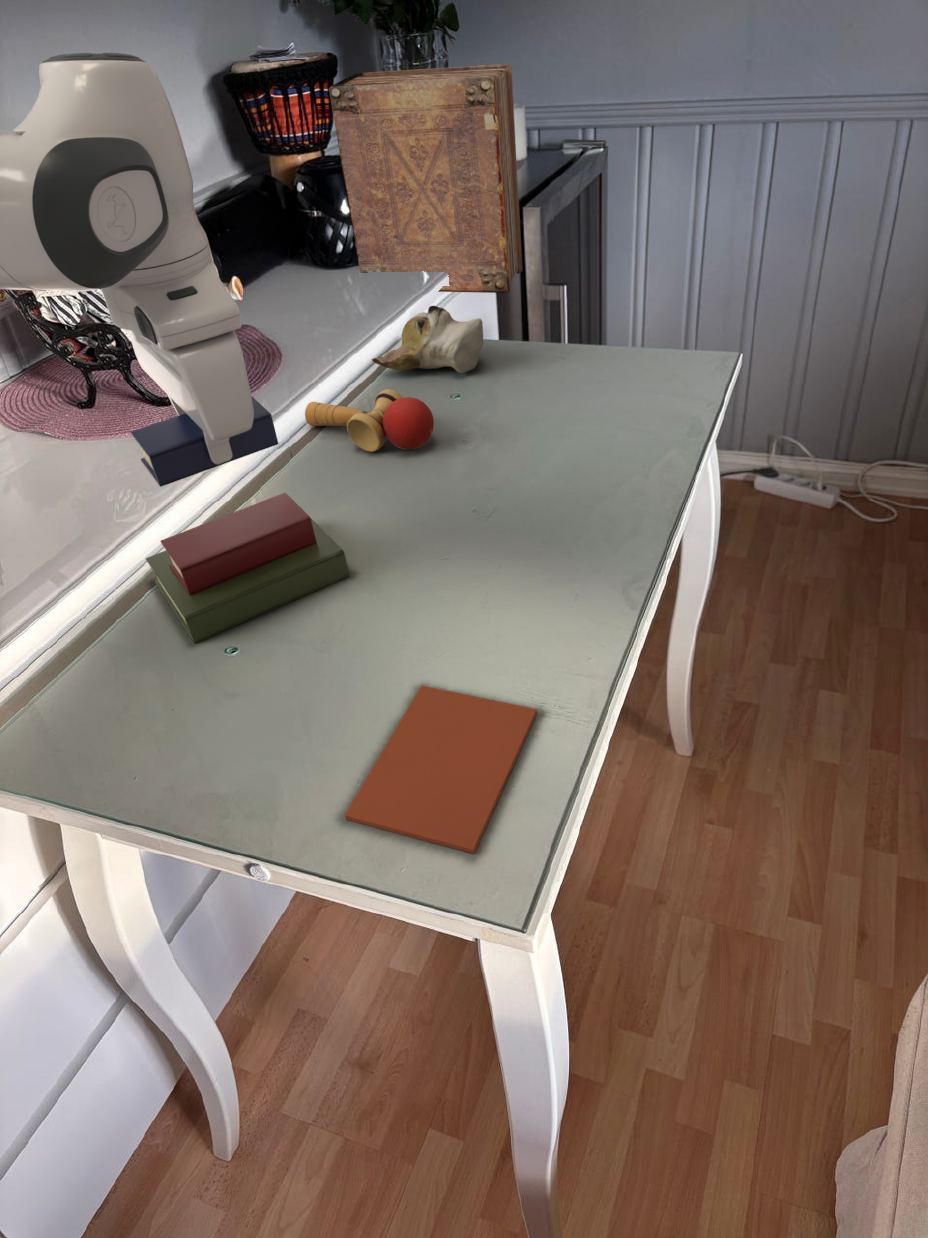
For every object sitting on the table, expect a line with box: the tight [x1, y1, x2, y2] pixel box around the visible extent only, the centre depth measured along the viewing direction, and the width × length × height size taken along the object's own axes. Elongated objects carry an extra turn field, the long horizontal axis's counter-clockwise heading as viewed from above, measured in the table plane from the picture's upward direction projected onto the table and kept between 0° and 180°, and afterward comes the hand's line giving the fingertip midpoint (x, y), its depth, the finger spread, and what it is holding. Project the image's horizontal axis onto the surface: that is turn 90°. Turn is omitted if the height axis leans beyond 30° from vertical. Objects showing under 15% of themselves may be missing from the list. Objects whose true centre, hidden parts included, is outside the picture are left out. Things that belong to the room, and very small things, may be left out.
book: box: [328, 63, 523, 294], centre depth 141 cm, size 25×9×30 cm, turn 73°
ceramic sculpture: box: [371, 305, 484, 374], centre depth 122 cm, size 11×9×15 cm
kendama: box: [304, 388, 435, 453], centre depth 109 cm, size 8×6×18 cm
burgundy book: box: [160, 492, 317, 596], centre depth 87 cm, size 13×6×3 cm, turn 123°
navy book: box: [130, 395, 279, 488], centre depth 80 cm, size 11×6×3 cm, turn 122°
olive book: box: [145, 518, 351, 644], centre depth 89 cm, size 16×12×3 cm
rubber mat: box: [344, 685, 538, 854], centre depth 69 cm, size 14×10×1 cm
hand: (208, 446), depth 80 cm, fingers closed on navy book, 5 cm apart
